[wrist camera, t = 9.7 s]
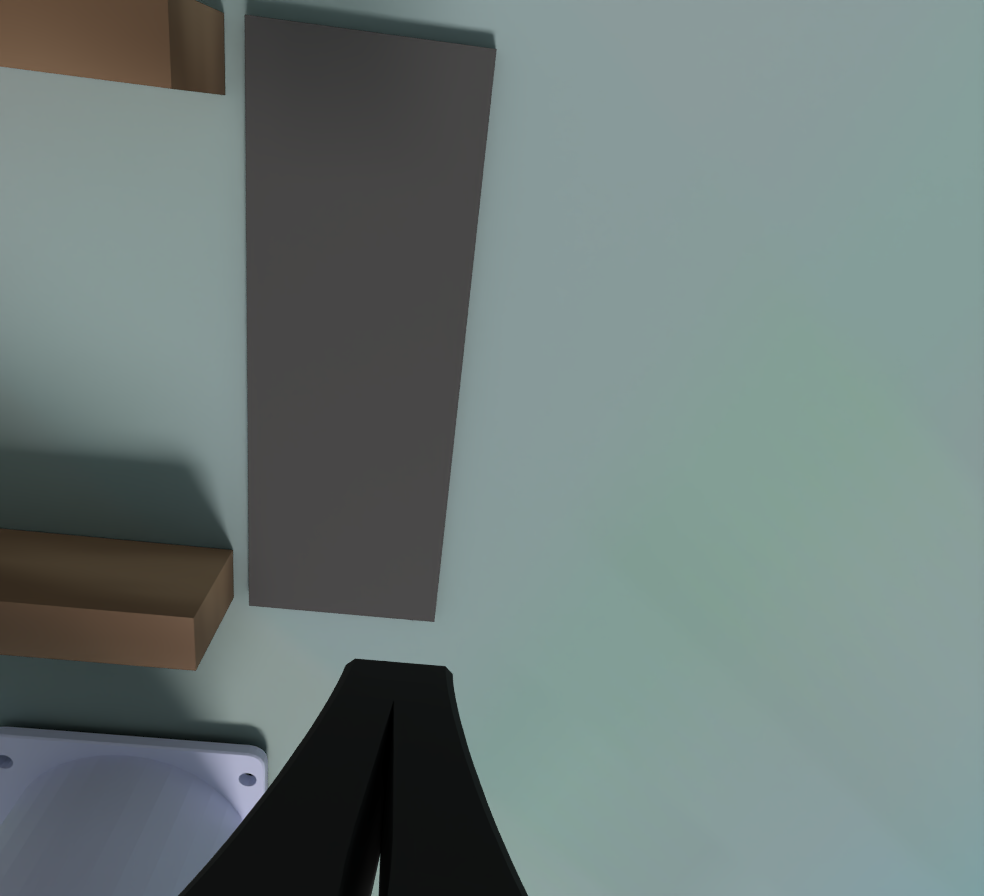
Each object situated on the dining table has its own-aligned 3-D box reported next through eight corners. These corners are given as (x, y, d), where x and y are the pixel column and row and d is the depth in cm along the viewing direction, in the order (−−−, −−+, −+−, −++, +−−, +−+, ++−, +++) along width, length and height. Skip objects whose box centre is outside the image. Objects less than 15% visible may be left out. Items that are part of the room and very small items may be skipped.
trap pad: (434, 615, 21) (433, 621, 21) (252, 599, 21) (249, 605, 20) (496, 50, 15) (496, 49, 15) (249, 17, 15) (245, 14, 15)
